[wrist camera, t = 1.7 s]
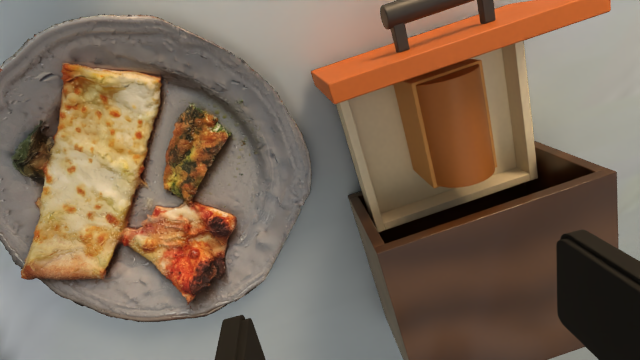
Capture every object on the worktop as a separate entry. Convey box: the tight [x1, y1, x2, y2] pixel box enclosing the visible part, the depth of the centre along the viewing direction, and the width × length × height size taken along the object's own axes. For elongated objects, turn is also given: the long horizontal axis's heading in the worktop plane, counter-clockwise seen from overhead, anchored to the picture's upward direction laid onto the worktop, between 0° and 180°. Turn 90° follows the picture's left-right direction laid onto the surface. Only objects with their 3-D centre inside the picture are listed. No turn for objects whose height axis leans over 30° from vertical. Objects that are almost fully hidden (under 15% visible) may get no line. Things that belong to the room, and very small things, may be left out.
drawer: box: [311, 0, 611, 232], centre depth 27 cm, size 17×16×10 cm
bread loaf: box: [394, 59, 497, 188], centre depth 28 cm, size 8×5×6 cm, turn 18°
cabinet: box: [348, 141, 618, 360], centre depth 32 cm, size 14×17×10 cm
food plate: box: [0, 14, 312, 322], centre depth 30 cm, size 25×23×4 cm
